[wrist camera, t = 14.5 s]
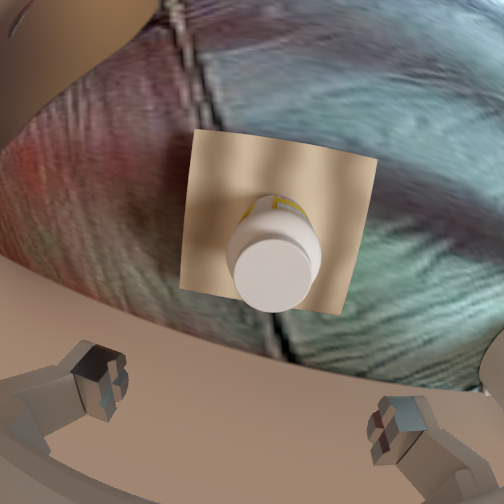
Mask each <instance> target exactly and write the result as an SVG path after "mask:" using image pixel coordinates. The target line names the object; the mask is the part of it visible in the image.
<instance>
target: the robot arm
mask: <svg viewBox="0 0 504 504" xmlns="http://www.w3.org/2000/svg"><path fill="white" fill-rule="evenodd" d="M125 365H126V357H125V355H124V354H122V353H120V352H117V351H114V350H112V349H109V348H106V347H103V346H100V345H98V344H94V343H92V342H89V341H86V340H83V341H80V342H79V343H78V344H77V345H76V346H75V347H74V349H73V350H72V351H71V352H70V353H69V354H68V355H67V356H66V357H65V358H64V359H63V360H62V361H61V362H60V363H59V364H58V365H57V366H54V365H51V366H48V367H44V368H41V369H38V370H34V371H31V372H27V373H24V374H20V375H17V376H13V377H10V378H6V379H2V380H0V504H160V503H156V502H154V501H150V500H147V499H144V498H141V497H138V496H136V495H132V494H130V493H127V492H125V491H122V490H119V489H117V488H114V487H112V486H109V485H107V484H105V483H102V482H100V481H98V480H95V479H93V478H91V477H89V476H87V475H85V474H83V473H80V472H78V471H76V470H74V469H72V468H71V467H68V466H67V465H65V464H63V463H61V462H59V461H57V460H56V459H54V458H52V457H50V456H49V454H50V453H51V450H50V447H49V446H48V444H47V442H46V440H45V439H44V437H45V436H46V435H49V434H51V433H53V432H55V431H57V430H59V429H60V428H62V427H64V426H66V425H68V424H70V423H72V422H74V421H76V420H78V419H79V418H81V417H83V416H85V414H87V415H90V416H92V417H95V418H97V419H100V420H103V421H105V422H109V420H110V419H111V417H112V416H113V414H114V412H115V411H116V409H117V408H116V404H115V403H116V402H118V401H120V400H122V399H123V397H124V396H125V394H126V391H127V387H128V380H129V379H128V373H127V372H126V371H125V369H124V366H125ZM479 378H480V381H481V382H482V384H483V394H484V395H485V396H488V395H491V396H492V398H493V399H494V400H495V401H496V402H497V404H498V405H499V406H500V407H501V408H502V410H503V411H504V330H503V331H502V332H501V333H500V334H499V335H498V336H497V337H496V338H495V340H494V341H493V342H492V344H491V345H490V347H489V348H488V350H487V351H486V353H485V355H484V357H483V359H482V362H481V365H480V369H479ZM378 408H379V410H378V411H376V412H374V413H373V414H372V415H371V417H370V419H369V421H368V426H367V436H368V440H369V441H370V442H371V443H372V444H373V447H372V449H371V450H370V451H371V455H372V460H373V465H374V466H379V465H380V466H381V465H396V466H397V468H398V469H399V470H400V471H401V472H402V473H403V474H404V476H405V477H406V478H407V479H408V480H409V481H410V482H411V483H412V485H413V486H414V487H415V488H416V489H417V490H418V491H419V492H420V494H421V495H422V496H423V497H424V498H425V499H426V500H425V501H424V502H422V503H421V504H504V487H502V488H499V485H498V483H497V481H496V478H495V476H494V474H493V471H492V469H491V467H490V465H489V463H488V461H487V460H485V459H484V458H482V457H481V456H480V455H478V454H477V453H476V452H474V451H473V450H472V449H470V448H469V447H467V446H466V445H465V444H463V443H462V442H460V441H459V440H458V439H457V438H455V437H454V436H453V435H451V434H450V433H449V432H447V431H446V430H444V429H440V427H439V425H438V423H437V421H436V418H435V416H434V414H433V412H432V410H431V407H430V406H429V403H428V401H427V399H426V398H425V397H424V396H410V397H409V396H401V397H400V396H398V397H397V396H384V397H383V398H382V399H381V400H380V401H379V403H378Z"/></svg>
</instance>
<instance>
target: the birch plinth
mask: <svg viewBox="0 0 504 504" xmlns="http://www.w3.org/2000/svg"><path fill="white" fill-rule="evenodd" d="M376 165H377V159H373V158H369V157H365V156H361V155H357V154H352V153H348V152H344V151H339V150H334V149H330V148H325V147H320V146H315V145H309V144H304V143H298V142H293V141H287V140H281V139H274V138H268V137H261V136H254V135H246V134H238V133H229V132H220V131H210V130H199V129H195V131H194V139H193V146H192V154H191V162H190V170H189V179H188V188H187V197H186V207H185V218H184V229H183V242H182V256H181V271H180V289H185V290H190V291H195V292H200V293H206V294H211V295H216V296H222V297H227V298H233V299H238V300H243V299H242V298H241V297H240V295H239V294H238V292H237V290H236V288H235V285H234V281H233V278H232V277H231V275H230V272H229V269H228V266H227V261H226V251H227V245H228V242H229V239H230V237H231V235H232V233H233V231H234V229H235V228H236V226H237V225H238V223H239V221H240V220H241V218H242V216H243V215H244V213H245V211H246V210H247V209H248V207H249V206H250V205H251V204H252V203H253V202H255V201H256V200H258V199H260V198H262V197H265V196H269V195H281V196H285V197H288V198H290V199H292V200H294V201H295V202H297V203H298V204H299V205H300V206H301V207H302V208H303V210H304V211H305V212H306V214H307V216H308V218H309V220H310V222H311V224H312V227H313V229H314V231H315V233H316V235H317V238H318V240H319V244H320V248H321V265H320V269H319V272H318V274H317V276H316V278H315V280H314V281H313V283H312V284H311V287H310V290H309V292H308V294H307V295H306V297H305V298H304V299H303V300H302V301H301V302H300V303H299V304H298V305H296V306H295V307H293V309H299V310H306V311H312V312H319V313H326V314H334V315H341V312H342V309H343V305H344V302H345V299H346V295H347V292H348V288H349V285H350V281H351V277H352V274H353V270H354V266H355V262H356V258H357V254H358V251H359V246H360V242H361V238H362V234H363V230H364V225H365V221H366V216H367V212H368V207H369V202H370V197H371V192H372V187H373V182H374V176H375V171H376Z"/></svg>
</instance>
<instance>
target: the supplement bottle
mask: <svg viewBox="0 0 504 504" xmlns="http://www.w3.org/2000/svg"><path fill="white" fill-rule="evenodd" d="M226 261H227V266H228V269H229V272H230V275H231V277H232V278H233V281H234V285H235V288H236V290H237V292H238V294H239V295H240V297H241V298H242V299H243V300H244V301H245V302H246V303H247V304H248V305H250V306H251V307H253V308H255V309H257V310H260V311H264V312H282V311H286V310H289V309H291V308H293V307H295V306H296V305H298V304H299V303H300V302H301V301H302V300H303V299H304V298H305V297H306V295H307V294H308V292H309V290H310V287H311V284H312V283H313V281H314V280H315V278H316V276H317V274H318V272H319V269H320V265H321V248H320V244H319V240H318V238H317V235H316V233H315V231H314V229H313V227H312V224H311V222H310V220H309V218H308V216H307V214H306V212H305V211H304V210H303V208H302V207H301V206H300V205H299V204H298V203H297V202H295V201H294V200H292V199H290V198H288V197H285V196H281V195H269V196H265V197H262V198H260V199H258V200H256V201H255V202H253V203H252V204H251V205H250V206H249V207H248V209H247V210H246V211H245V213H244V215H243V216H242V218H241V220H240V221H239V223H238V225H237V226H236V228H235V229H234V231H233V233H232V235H231V237H230V239H229V242H228V245H227V251H226Z"/></svg>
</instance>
